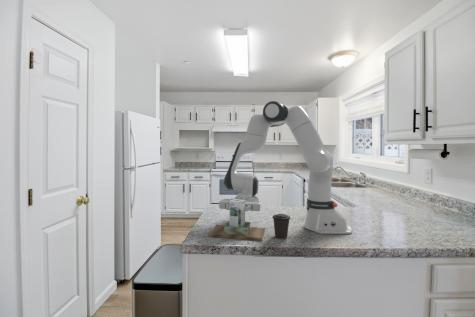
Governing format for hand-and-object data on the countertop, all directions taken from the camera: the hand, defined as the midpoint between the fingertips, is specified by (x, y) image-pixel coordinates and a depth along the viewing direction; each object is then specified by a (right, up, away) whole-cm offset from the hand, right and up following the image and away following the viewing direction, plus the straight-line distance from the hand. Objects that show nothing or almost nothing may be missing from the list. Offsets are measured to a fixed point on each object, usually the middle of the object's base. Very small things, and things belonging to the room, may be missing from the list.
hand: (237, 208), depth 124 cm
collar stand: (0, -12, +2) cm, 12 cm away
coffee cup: (+20, -12, -2) cm, 23 cm away
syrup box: (0, -11, +2) cm, 11 cm away
